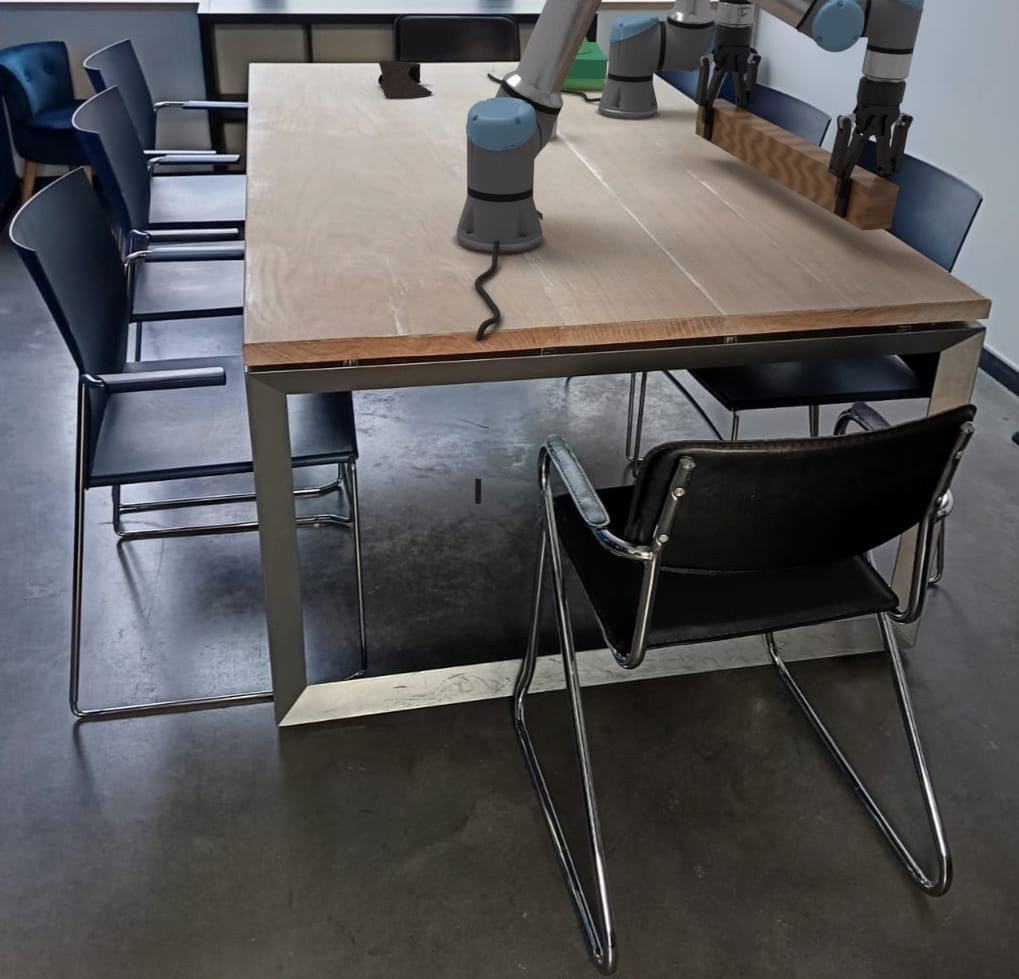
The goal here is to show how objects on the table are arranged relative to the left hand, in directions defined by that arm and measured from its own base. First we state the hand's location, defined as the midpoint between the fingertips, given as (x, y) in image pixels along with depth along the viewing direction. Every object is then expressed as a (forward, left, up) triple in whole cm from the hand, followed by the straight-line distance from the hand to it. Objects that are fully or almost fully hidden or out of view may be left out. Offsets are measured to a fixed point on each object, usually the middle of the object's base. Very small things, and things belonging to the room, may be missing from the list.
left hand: (855, 214), depth 194 cm
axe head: (+110, +105, -6) cm, 152 cm away
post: (+25, +11, -1) cm, 27 cm away
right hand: (+50, +22, 0) cm, 54 cm away
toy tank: (+137, +62, -6) cm, 150 cm away
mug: (+67, +64, -6) cm, 92 cm away
